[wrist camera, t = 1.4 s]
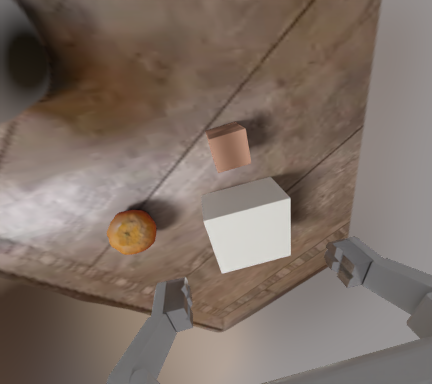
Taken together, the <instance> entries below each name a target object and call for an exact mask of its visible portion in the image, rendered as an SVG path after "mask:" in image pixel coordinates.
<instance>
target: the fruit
mask: <svg viewBox="0 0 432 384" xmlns="http://www.w3.org/2000/svg"><path fill="white" fill-rule="evenodd" d="M107 236H108V238H109V241H110V245H111V246H112V247H113V248H115V249H117V250H118V251H120V252H121V253H123V254H126V255H127V254H136V253H139V252H142V251H144V250H146V249H148V248H149V247H150V246H151V245H152V244H153V243H154V241H155V237H156V224H155V222H154V221H153V219H152V218H151V216H150V215H149V214H148V213H147V212H146V211H143V210H128V211H124V212H120V213H118V214H117V215H116V216H115V217H114V219H113V220H112V222H111V223H110V226H109V228H108V231H107Z"/></svg>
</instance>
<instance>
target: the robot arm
mask: <svg viewBox="0 0 432 384" xmlns="http://www.w3.org/2000/svg"><path fill="white" fill-rule="evenodd" d="M326 248H327V249H328V250H327V251H326V252H325V256H324V258H325V261H326V263H327V265H328V266H329V268H330V269H331V270H333V271H335V272H337V277H338V278H339V279H340V280H341V281H342V283H343V284H344V285H345V286H346V287H347V288H350V287H354V286H358V285H363V286H364V287H366V288H367V289H369V290H371V291H372V292H374V293H376V294H377V295H379V296H381V297H382V298H384V299H386V300H387V301H389V302H391V303H393V304H394V305H396V306H397V307H399V308H401V309H402V310H404V311H406V312H407V313H409V314H411V316H410V318H409V319H408V320H407V325H408V326H409V327H410V328H411V329H412V331H414V333H415V334H416V335H417V336H418V337H419V338H420V339H419V340H415V341H412V342H408V343H405V344H401V345H397V346H394V347H390V348H387V349H384V350H380V351H376V352H373V353H369V354H365V355H362V356H358V357H355V358H351V359H348V360H344V361H341V362H337V363H334V364H330V365H326V366H323V367H319V368H316V369H312V370H309V371H305V372H302V373H298V374H294V375H291V376H287V377H284V378H280V379H277V380H273V381H270V382H266V383H262V384H432V275H430V274H427V273H424V272H422V271H419V270H416V269H414V268H411V267H409V266H406V265H403V264H401V263H398V262H396V261H393V260H390V259H388V258H386V259H384V258H383V257H381V256H380V255H379V254H377V253H376V252H375V251H374V250H372V249H371V248H370V247H369V246H367V245H366V244H365V243H364V242H362V241H361V240H360V239H359V238H357V237H349V238H346V239H340V240H336V241H333V242H329V243H328V244H327V245H326ZM191 306H192V293H191V289H190V286H189V285H188V281H187V278H186V277H184V278H179V279H175V280H170V281H165V282H161V283H158V284H157V286H156V291H155V297H154V303H153V309H152V315H151V317H149V318H148V319H147V320H146V322H145V323H144V325H143V326H142V328H141V329H140V331H139V332H138V334H137V335H136V337H135V338H134V340H133V341H132V343H131V344H130V346H129V347H128V348H127V350H126V352H125V353H124V354H123V356H122V358H121V359H120V360H119V362H118V363H117V365H116V366H115V368H114V369H113V371H112V372H111V374H110V375H109V377H108V380H107V384H160V383H159V382H158V381H157V380H156V379H157V377H158V375H159V373H160V370H161V368H162V366H163V363H164V361H165V359H166V357H167V354H168V352H169V350H170V348H171V345H172V343H173V341H174V339H175V336H176V334H177V333H176V332H179V331H182V330H186V329H190V328H193V313H192V310H191Z"/></svg>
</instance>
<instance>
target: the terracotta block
mask: <svg viewBox="0 0 432 384" xmlns="http://www.w3.org/2000/svg"><path fill="white" fill-rule="evenodd" d="M205 132H206V135H207V139H208V142H209V146H210V149H211V153H212V156H213V160H214V162H215V165H216V168H217V171H218V173H220V172H224V171H227V170H230V169H234V168H237V167H241V166H244V165H247V164H251V158H250V152H249V146H248V140H247V134H246V128H244V127H243V126H241V125H240V124H238V123H237V122H233V123H229V124H226V125H223V126H220V127H216V128H213V129H210V130H206V131H205Z"/></svg>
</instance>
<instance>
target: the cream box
mask: <svg viewBox="0 0 432 384" xmlns="http://www.w3.org/2000/svg"><path fill="white" fill-rule="evenodd" d="M201 202H202V212H203V221H204V224H205V227H206V230H207V233H208V235H209V238H210V241H211V244H212V247H213V249H214V252H215V255H216V258H217V261H218V264H219V266H220V269H221V272H222V273H226V272H230V271H234V270H237V269H241V268H245V267H249V266H252V265H256V264H260V263H264V262H267V261H271V260H275V259H279V258H282V257H286V256H290V255H291V214H290V197H289V196H288V195H287V194H286V193H285V192H284V191H283V189H282V188H281V187H280V186H279V185H278V184H277V183H276V182H275V181H274V180H273V179H272V178H271V177H268V178H264V179H260V180H256V181H253V182H249V183H245V184H241V185H238V186H234V187H230V188H227V189H223V190H219V191H215V192H212V193H208V194H204V195H201Z"/></svg>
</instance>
